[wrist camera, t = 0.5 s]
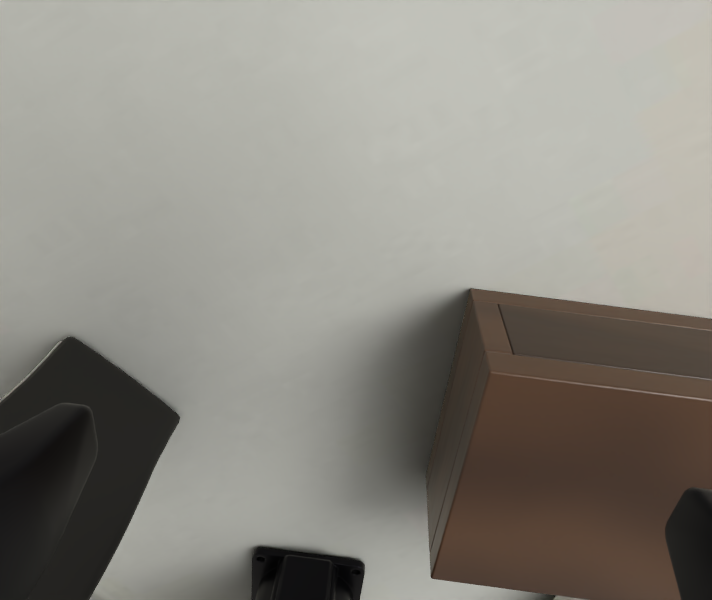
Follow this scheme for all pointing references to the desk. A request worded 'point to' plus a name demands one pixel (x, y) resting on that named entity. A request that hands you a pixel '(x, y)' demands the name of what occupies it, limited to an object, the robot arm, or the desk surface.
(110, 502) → the battery charger
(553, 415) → the walnut keepsake box
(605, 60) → the desk surface
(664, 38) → the desk surface
